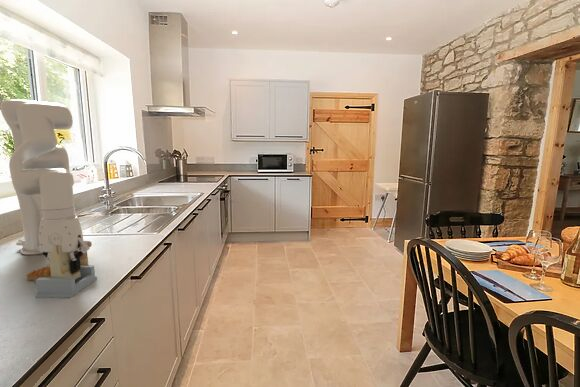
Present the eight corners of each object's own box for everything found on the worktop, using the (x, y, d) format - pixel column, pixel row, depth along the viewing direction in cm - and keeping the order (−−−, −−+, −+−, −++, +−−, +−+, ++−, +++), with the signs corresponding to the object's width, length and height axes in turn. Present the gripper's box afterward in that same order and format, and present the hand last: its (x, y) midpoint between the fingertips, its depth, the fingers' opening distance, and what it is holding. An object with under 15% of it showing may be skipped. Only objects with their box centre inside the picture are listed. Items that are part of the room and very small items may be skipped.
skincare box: (63, 285, 88) (58, 246, 86) (51, 284, 89) (46, 244, 87) (82, 276, 94) (78, 239, 92) (70, 274, 95) (66, 237, 93)
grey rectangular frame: (35, 297, 86) (33, 281, 85) (65, 278, 98) (63, 264, 97) (71, 297, 86) (69, 281, 85) (96, 278, 98) (95, 264, 97)
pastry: (23, 284, 94) (22, 273, 93) (31, 275, 100) (30, 265, 99) (60, 279, 98) (59, 268, 97) (65, 271, 104) (64, 260, 103)
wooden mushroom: (64, 276, 99) (60, 247, 97) (78, 267, 106) (75, 240, 104) (85, 276, 99) (82, 247, 97) (98, 267, 106) (95, 240, 104)
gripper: (18, 216, 84) (27, 276, 87) (80, 216, 84) (86, 277, 87) (40, 210, 91) (47, 266, 94) (96, 210, 92) (102, 266, 95)
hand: (66, 271), depth 91 cm, fingers closed on skincare box, 5 cm apart
